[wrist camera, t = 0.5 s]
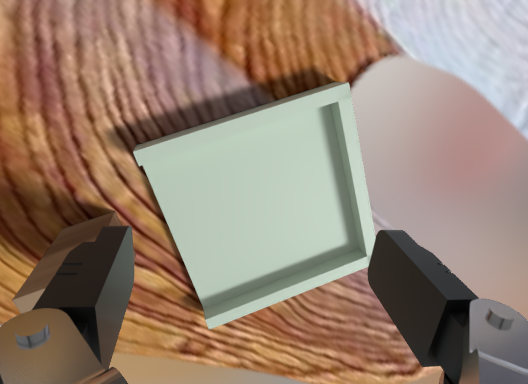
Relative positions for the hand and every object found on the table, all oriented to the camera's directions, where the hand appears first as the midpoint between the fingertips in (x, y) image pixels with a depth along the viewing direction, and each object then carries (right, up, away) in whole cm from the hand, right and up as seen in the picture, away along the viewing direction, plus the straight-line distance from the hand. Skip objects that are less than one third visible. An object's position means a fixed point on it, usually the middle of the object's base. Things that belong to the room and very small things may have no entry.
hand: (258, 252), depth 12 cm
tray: (0, +1, +22) cm, 22 cm away
